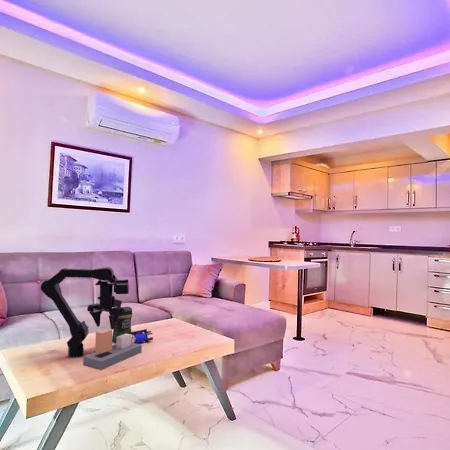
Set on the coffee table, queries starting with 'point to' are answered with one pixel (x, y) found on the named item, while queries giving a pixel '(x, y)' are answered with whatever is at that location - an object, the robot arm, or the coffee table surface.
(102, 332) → the terracotta plug
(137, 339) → the character figurine
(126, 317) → the coffee jar
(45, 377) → the coffee table surface
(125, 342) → the pale pink plug
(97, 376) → the coffee table surface
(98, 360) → the header
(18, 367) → the coffee table surface
